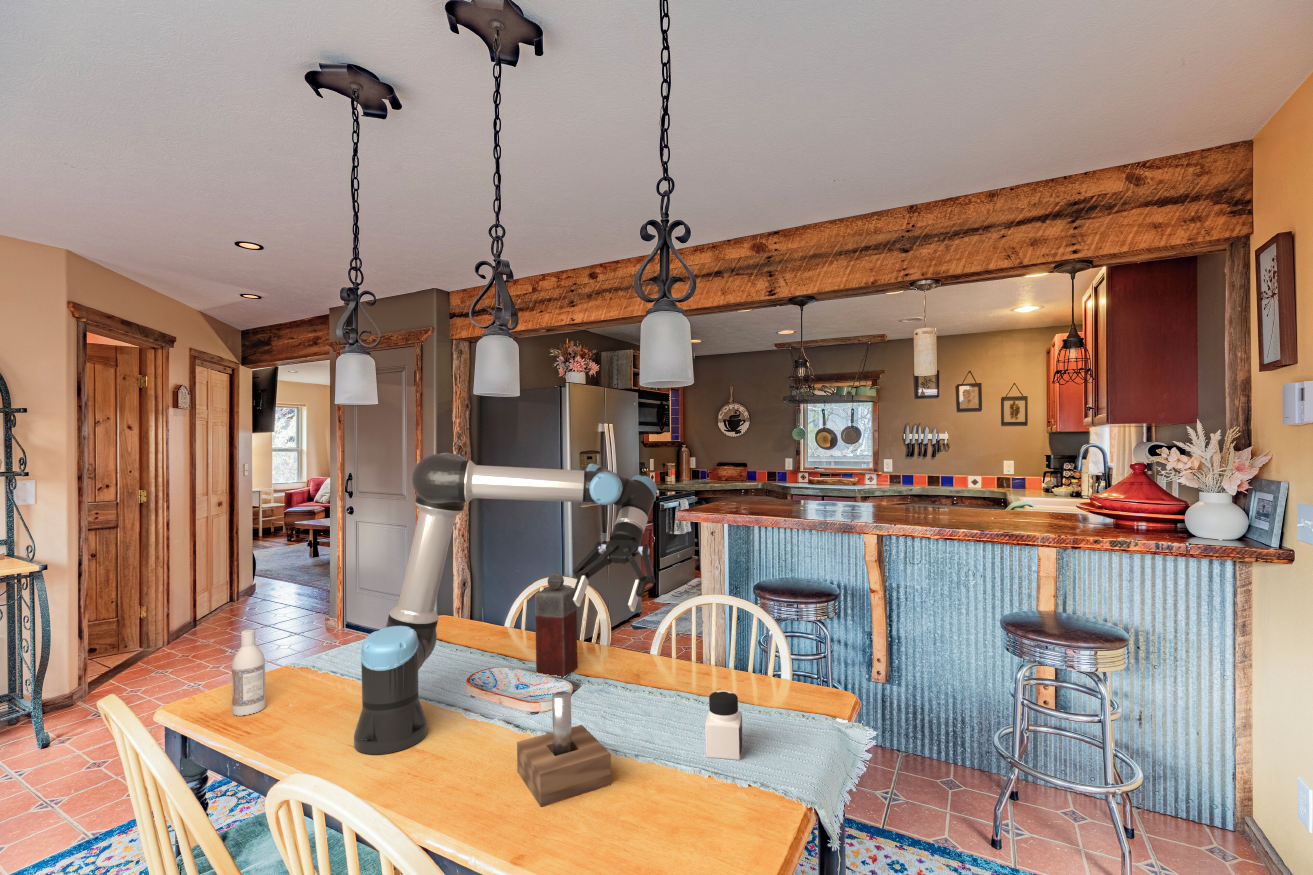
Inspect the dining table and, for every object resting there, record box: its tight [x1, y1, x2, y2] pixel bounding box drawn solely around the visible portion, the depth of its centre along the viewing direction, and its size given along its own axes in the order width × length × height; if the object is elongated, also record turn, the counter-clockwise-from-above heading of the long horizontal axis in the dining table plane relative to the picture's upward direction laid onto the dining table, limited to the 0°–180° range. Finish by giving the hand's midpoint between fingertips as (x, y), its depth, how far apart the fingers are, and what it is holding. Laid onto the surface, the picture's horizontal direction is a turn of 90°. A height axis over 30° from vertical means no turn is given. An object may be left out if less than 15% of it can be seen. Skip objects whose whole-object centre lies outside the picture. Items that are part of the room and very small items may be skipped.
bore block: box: [516, 724, 612, 808], centre depth 121 cm, size 14×14×6 cm
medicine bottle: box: [704, 690, 743, 761], centre depth 130 cm, size 7×7×12 cm
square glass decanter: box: [534, 572, 579, 677], centre depth 178 cm, size 9×11×28 cm
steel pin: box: [551, 691, 572, 756], centre depth 121 cm, size 4×4×14 cm
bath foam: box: [231, 628, 267, 717], centre depth 155 cm, size 7×7×20 cm
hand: (603, 605), depth 139 cm, fingers open, 13 cm apart
